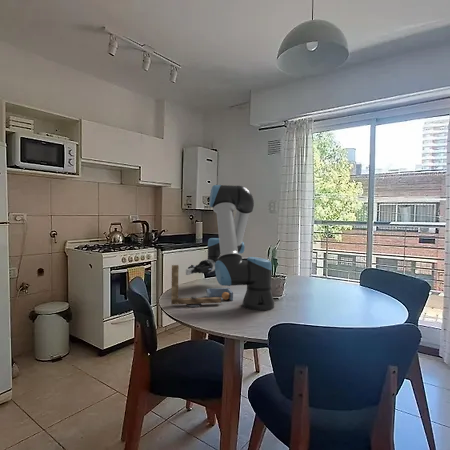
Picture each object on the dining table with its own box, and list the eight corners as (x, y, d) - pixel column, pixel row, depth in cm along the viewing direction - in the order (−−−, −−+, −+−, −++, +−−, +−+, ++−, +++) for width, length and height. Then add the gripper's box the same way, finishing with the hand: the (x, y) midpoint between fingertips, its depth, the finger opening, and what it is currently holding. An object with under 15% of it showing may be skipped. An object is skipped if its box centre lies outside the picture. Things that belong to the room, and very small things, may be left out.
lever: (219, 301, 167) (220, 264, 166) (221, 302, 164) (221, 265, 164) (171, 302, 163) (171, 265, 162) (171, 304, 160) (172, 266, 159)
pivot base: (203, 304, 165) (203, 302, 165) (196, 308, 159) (196, 306, 159) (190, 302, 168) (190, 301, 168) (183, 306, 162) (183, 304, 162)
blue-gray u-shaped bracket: (232, 300, 173) (233, 292, 173) (208, 301, 171) (208, 293, 171) (229, 295, 183) (229, 288, 183) (206, 295, 181) (206, 288, 181)
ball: (232, 296, 175) (229, 291, 173) (228, 302, 173) (225, 296, 171) (225, 295, 178) (223, 289, 176) (221, 300, 175) (219, 295, 173)
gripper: (217, 273, 195) (198, 280, 173) (196, 272, 200) (175, 278, 178) (217, 260, 195) (198, 265, 173) (196, 259, 200) (176, 264, 178)
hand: (187, 272), depth 176 cm, fingers closed
